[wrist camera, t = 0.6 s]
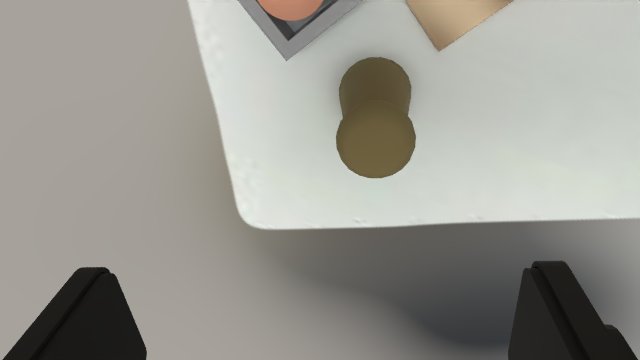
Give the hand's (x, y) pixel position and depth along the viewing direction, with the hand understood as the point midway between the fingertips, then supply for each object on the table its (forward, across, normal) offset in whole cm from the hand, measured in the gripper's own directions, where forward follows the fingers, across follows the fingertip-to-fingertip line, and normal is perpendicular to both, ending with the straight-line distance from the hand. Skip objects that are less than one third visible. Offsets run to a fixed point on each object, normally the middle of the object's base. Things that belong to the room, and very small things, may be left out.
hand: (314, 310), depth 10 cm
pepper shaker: (+29, -2, +5) cm, 29 cm away
